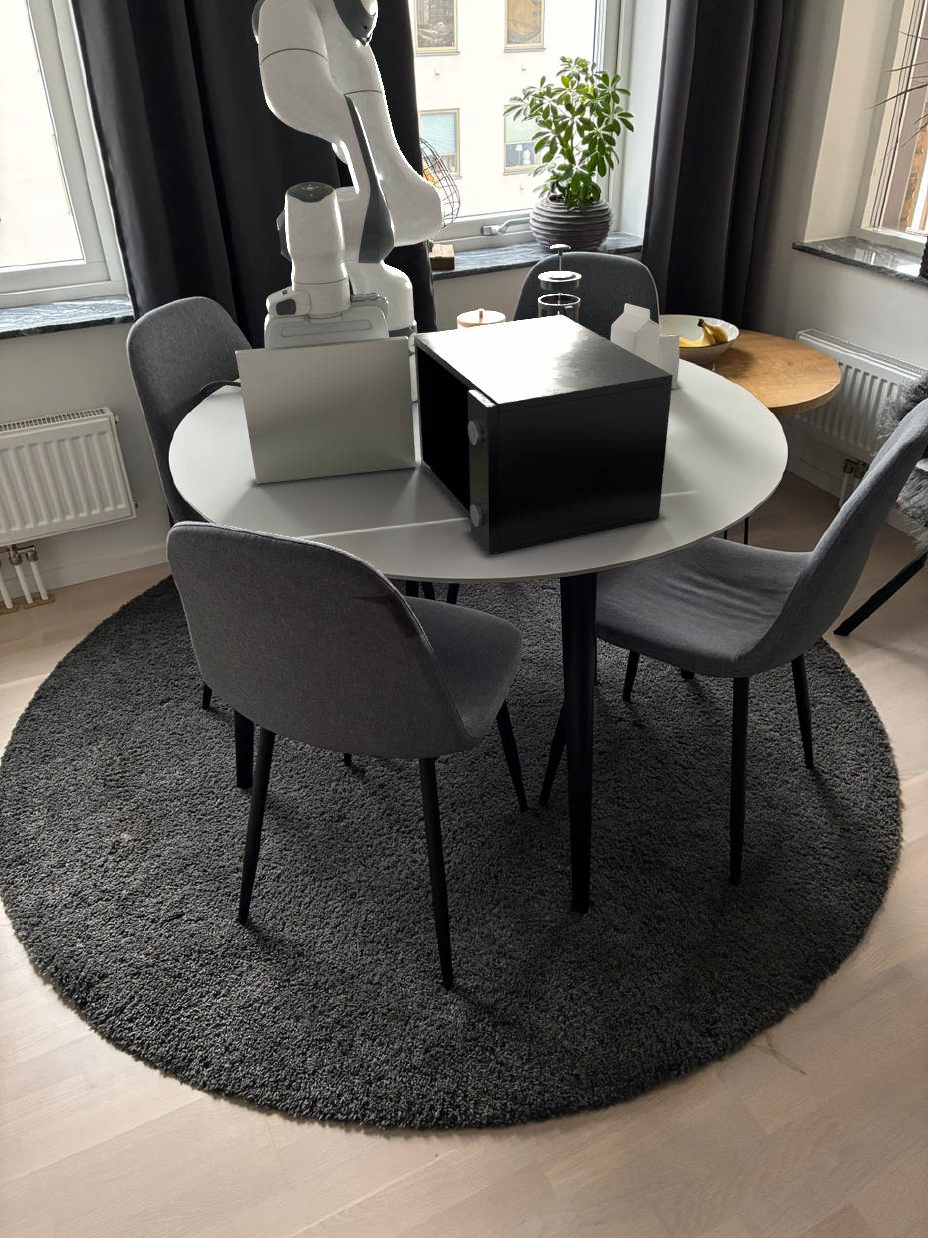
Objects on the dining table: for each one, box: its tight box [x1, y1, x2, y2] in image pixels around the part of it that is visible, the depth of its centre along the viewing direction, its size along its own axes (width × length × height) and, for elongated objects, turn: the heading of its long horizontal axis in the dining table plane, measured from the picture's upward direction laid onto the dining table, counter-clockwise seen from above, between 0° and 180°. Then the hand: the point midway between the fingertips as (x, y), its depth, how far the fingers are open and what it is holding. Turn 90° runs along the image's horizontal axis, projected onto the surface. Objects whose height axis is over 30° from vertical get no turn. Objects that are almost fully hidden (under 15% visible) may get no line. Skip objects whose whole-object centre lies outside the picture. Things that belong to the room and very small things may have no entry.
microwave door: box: [235, 336, 417, 485], centre depth 153 cm, size 7×27×22 cm, turn 101°
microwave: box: [414, 314, 673, 555], centre depth 143 cm, size 28×34×22 cm
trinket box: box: [456, 308, 506, 330], centre depth 209 cm, size 11×11×9 cm
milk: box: [610, 302, 662, 366], centre depth 164 cm, size 6×6×22 cm
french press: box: [537, 244, 582, 324], centre depth 201 cm, size 12×9×23 cm
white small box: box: [657, 334, 681, 389], centre depth 187 cm, size 4×7×10 cm, turn 91°
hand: (331, 382), depth 155 cm, fingers closed
